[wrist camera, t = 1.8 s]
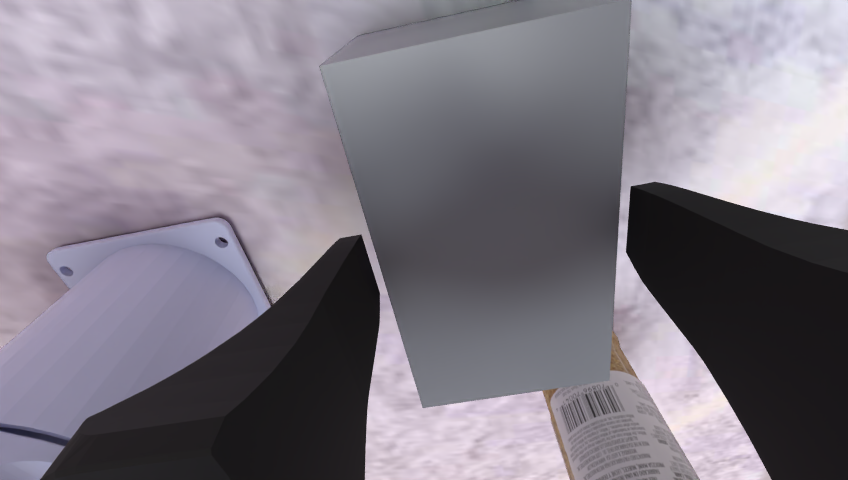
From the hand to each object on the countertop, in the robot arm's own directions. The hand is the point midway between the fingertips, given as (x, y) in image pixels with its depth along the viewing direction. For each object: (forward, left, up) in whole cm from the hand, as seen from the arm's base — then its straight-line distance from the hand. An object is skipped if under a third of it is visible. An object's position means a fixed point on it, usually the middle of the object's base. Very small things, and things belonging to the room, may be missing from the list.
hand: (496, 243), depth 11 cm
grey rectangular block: (0, 0, -6) cm, 6 cm away
